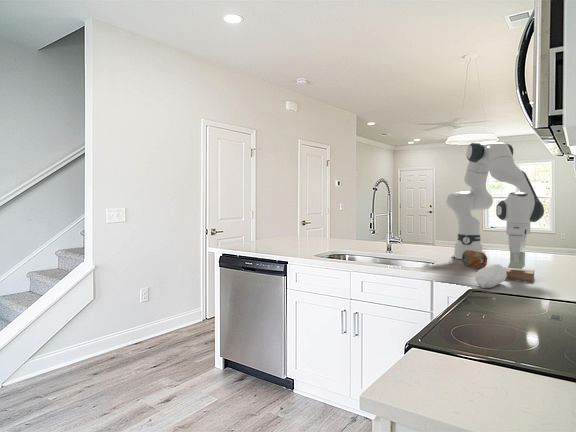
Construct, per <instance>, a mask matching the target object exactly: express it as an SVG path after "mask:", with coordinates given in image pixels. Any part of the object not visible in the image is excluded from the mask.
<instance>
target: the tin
mask: <svg viewBox="0 0 576 432" xmlns="http://www.w3.org/2000/svg"><path fill="white" fill-rule="evenodd" d="M461 260H462V263H463V265H464V266H466V267H469V268H473V269H476V270H477V269H479V270H480V269H482V268H484V267H487V266H488V265H487V264H488V258H487V254H485V252H484V253H483V252H477V251H470V250H466V251H465V252H464V253H463V255H462V259H461Z"/></svg>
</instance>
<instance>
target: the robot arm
mask: <svg viewBox="0 0 576 432" xmlns="http://www.w3.org/2000/svg"><path fill="white" fill-rule="evenodd" d="M465 155H466V159H467V160H468V164H467V168H466V170H465V175H464V178H463V180H464V183H465V185H467V186H468V187H470V191H456V192H455V191H454V192H450V193H449V194H448V195H447V198H446V205H447V207H448V208H449V209H450V210H451V211H452V212H453V213H454V214H455V216H456V218H457V222H458V223H457V225H458V227H457V228H458V234H457V241H456V242H455V243H454V251H453V254H451V258H454V257H455V258H454V259H458V260H462V255H463V253H464V252H465V251H466V250H470V251H477V252H483V253H484V254H485V251H483V244H482V243H481V241H482V240H481V238H482V237H481V234H480V232H481V231H480V229H481V228H480V227H481V226H480V220H479V219H477V218H476V217H474V216H473V215H472V213H471V211H485V210H488V209H490V208H491V207H492V205H493V202H494V199H493V196H492V194H491V193H489V191H488V189H487V180H488V175H489V174H490V176H491V178H493V179H495V180H496V181H499V182H503V183H507V184H509V185H511V186H515V187H516V188H517V189H518V190H519V191H513V192H510V193H509V194H508V196H507V198H505V199H503V200H501V201H499V202H498V203H497V204H496V207H495V208H496V210H495V211H496V212H495V214H496V217H497V218H498V219H500V220H501V221H503V222H504V221H505V222H506V230H505V231H506V235H507V236H508V249H509V254H510V253H513V256H514V262H516V263H518V262H519V253H520V252H523V251H524V250H525V249H526V239H527V238H528V235H531V223H536V222H538V221H539V220H541V219H542V218H543V216H544V214H545V207H544V205H543V203H542V202H541V200H540V199H539V198H538V196H537V194H536V192H535V190H534V187H533V186H532V183H531V181H530V179H529V177H528V175H527V174H526V172H525V171H523V170H522V169H520V168H519V167H518V166H517V164H516V163H515V160H514V157H513V156H514V148H513V145H511V144H510V143H506V142H502V141H500V142H498V141H497V142H496V141H483V142H481V141H480V142H479V141H474V142H471V143H470V144H469V145H468V146H467V148H466V154H465Z"/></svg>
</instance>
